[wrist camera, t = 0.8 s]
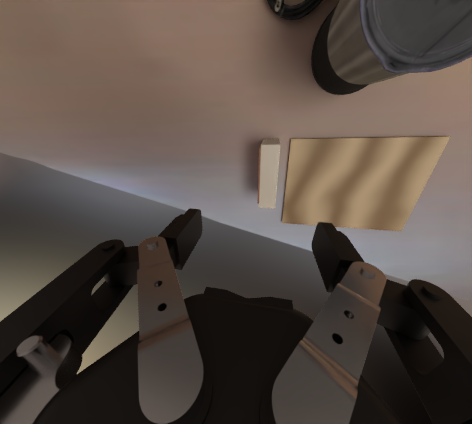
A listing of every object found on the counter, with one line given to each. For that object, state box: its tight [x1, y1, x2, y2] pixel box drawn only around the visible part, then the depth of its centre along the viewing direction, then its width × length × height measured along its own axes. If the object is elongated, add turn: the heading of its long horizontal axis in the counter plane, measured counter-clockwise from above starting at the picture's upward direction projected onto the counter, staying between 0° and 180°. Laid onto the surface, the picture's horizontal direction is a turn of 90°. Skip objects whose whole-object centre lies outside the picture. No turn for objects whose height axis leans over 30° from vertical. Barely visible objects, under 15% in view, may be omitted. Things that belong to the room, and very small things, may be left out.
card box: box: [258, 139, 280, 209], centre depth 27 cm, size 3×9×6 cm, turn 2°
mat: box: [282, 136, 450, 231], centre depth 28 cm, size 20×15×1 cm
